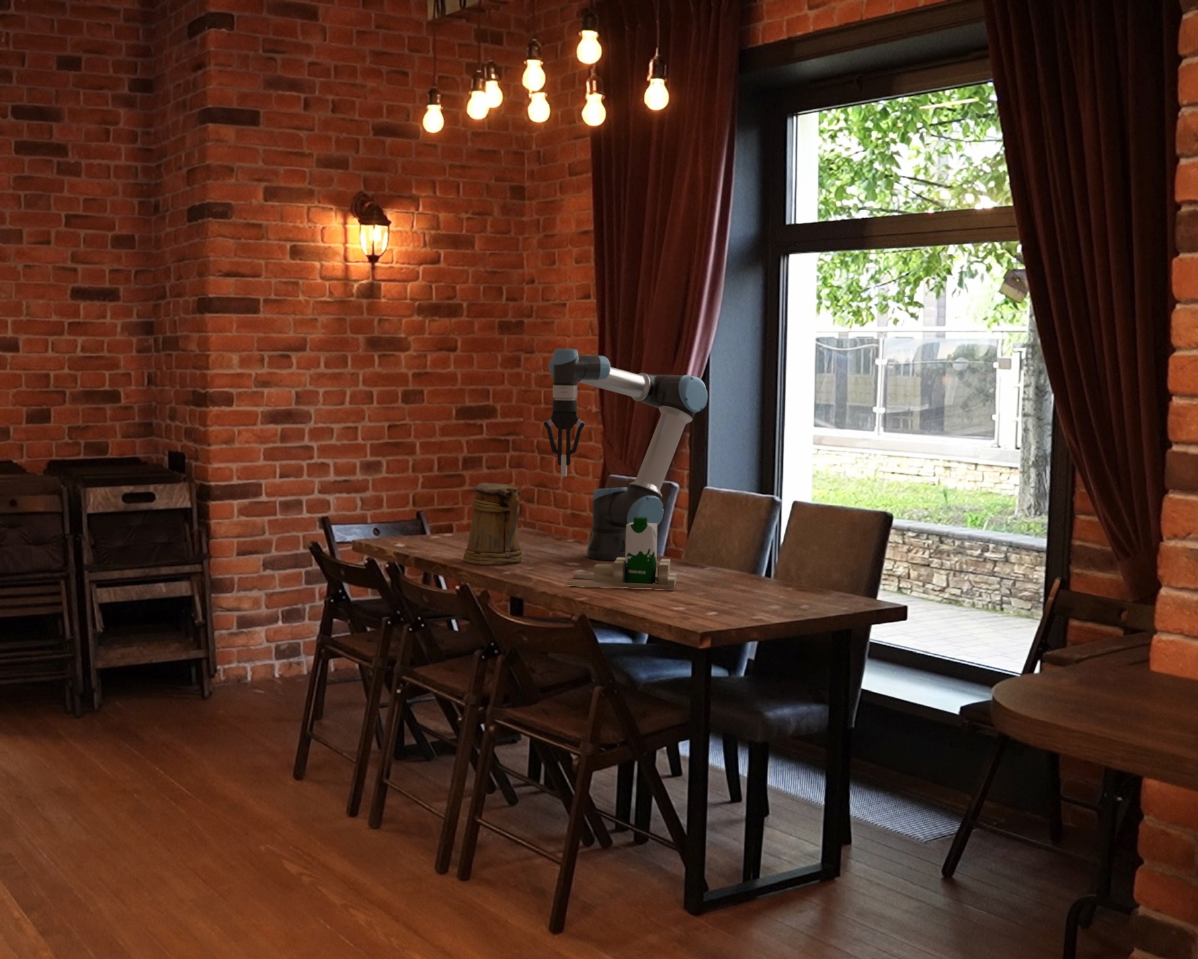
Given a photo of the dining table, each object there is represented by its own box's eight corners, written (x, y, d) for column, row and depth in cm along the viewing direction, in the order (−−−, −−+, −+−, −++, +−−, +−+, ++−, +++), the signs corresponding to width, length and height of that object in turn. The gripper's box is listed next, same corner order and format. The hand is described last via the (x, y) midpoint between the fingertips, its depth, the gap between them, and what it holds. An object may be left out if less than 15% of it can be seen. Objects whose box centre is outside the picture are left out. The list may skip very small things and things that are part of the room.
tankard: (498, 555, 450) (499, 480, 448) (542, 565, 433) (543, 486, 430) (452, 560, 438) (453, 482, 436) (496, 570, 421) (497, 489, 418)
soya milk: (622, 586, 396) (623, 517, 394) (629, 581, 404) (631, 514, 403) (651, 588, 393) (653, 519, 392) (658, 583, 402) (660, 516, 400)
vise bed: (573, 577, 409) (574, 554, 408) (676, 581, 406) (677, 558, 405) (567, 586, 393) (567, 562, 392) (674, 590, 390) (674, 566, 389)
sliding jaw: (596, 579, 406) (597, 556, 406) (627, 580, 405) (627, 557, 405) (592, 585, 394) (592, 562, 394) (623, 587, 393) (624, 563, 393)
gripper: (542, 399, 415) (541, 476, 417) (584, 400, 414) (583, 477, 416) (545, 398, 423) (544, 474, 425) (587, 399, 421) (586, 475, 424)
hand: (563, 475), depth 420 cm, fingers closed
